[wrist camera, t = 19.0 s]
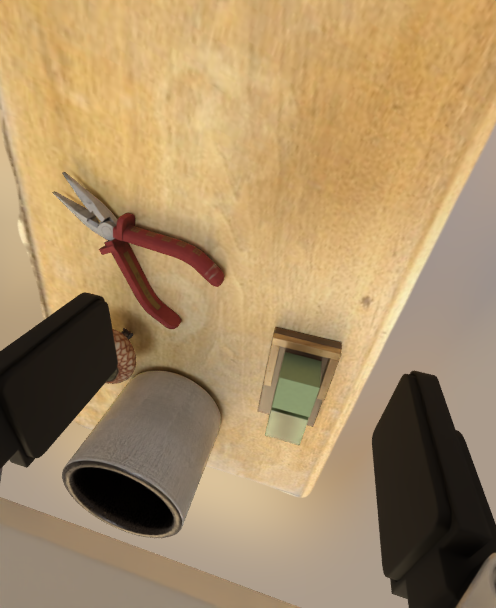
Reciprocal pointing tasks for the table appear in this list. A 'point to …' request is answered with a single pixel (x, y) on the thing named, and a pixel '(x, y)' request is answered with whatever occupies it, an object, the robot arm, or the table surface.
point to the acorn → (123, 357)
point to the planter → (146, 455)
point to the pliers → (127, 232)
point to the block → (297, 384)
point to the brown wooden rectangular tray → (283, 341)
